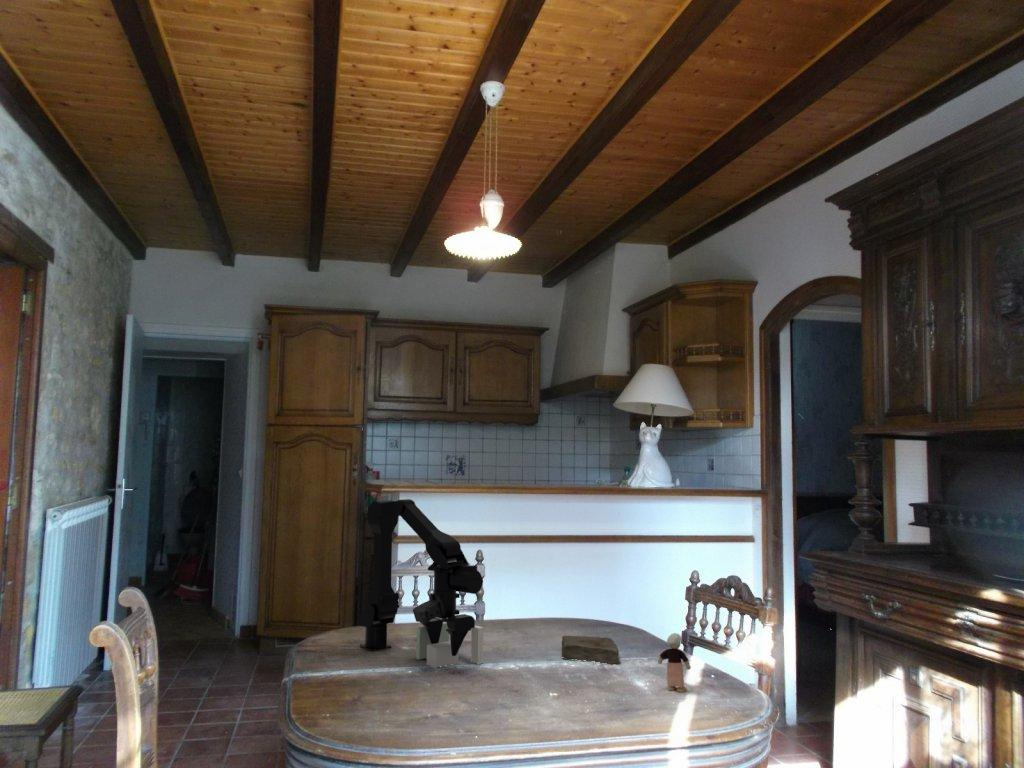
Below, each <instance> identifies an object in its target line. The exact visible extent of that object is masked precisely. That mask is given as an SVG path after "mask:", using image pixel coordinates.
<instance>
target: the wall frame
mask: <svg viewBox="0 0 1024 768" xmlns="http://www.w3.org/2000/svg"><path fill="white" fill-rule="evenodd" d="M443 622H444V621H443ZM470 639H471V645H470V662H471V663H472V662H473V663H472V664H475V663H476V664H475V665H477V664H479V665H482V664H483V659H484V658H483V657H484V656H483V655H484V652H483V651H484V649H483V648H484V647H483V646H484V627H483V626H479V625H476V624H475V628H471V638H470ZM448 641H450V634H449V633H448ZM481 663H482V664H481Z"/></svg>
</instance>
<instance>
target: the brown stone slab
mask: <svg viewBox="0 0 1024 768" xmlns="http://www.w3.org/2000/svg"><path fill="white" fill-rule="evenodd" d="M561 638H562V639H561V651H562V652H561V654H562V655H561V658H562V657H564V658H567V659H566V660H568V659H574V660H575V659H577V660H586V661H595V662H600V663H599V664H602V663H607V664H606V665H613V664H617V665H619V664H620V662H619V661H620V660H619V655H620V654H619V653H620V652H619V647H618V646H617V644H616V643H615V641H614V640H613V639H612V638H610V637H600V636H587V635H563V636H561ZM564 658H563V659H564ZM574 660H573V661H574Z"/></svg>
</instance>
